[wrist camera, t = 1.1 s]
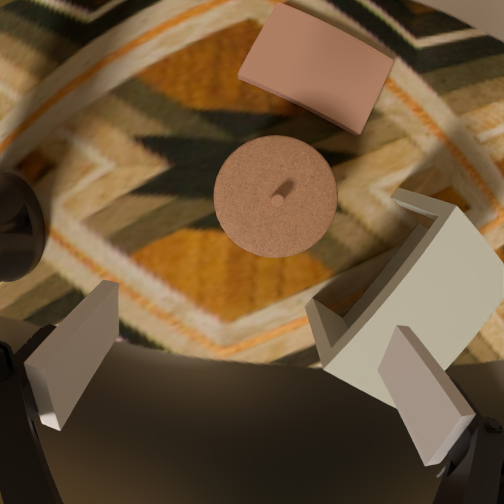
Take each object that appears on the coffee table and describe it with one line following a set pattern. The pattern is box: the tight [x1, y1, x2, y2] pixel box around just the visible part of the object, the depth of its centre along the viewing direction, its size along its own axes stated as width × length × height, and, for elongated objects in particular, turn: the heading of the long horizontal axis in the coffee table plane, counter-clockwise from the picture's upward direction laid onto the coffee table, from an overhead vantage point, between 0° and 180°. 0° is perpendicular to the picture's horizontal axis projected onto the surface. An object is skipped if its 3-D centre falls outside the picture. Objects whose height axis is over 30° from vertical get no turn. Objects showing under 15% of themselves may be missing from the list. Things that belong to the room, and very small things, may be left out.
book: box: [238, 2, 394, 135], centre depth 30 cm, size 14×10×2 cm
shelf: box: [305, 188, 504, 408], centre depth 32 cm, size 12×18×12 cm, turn 145°
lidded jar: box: [214, 135, 338, 258], centre depth 30 cm, size 11×11×9 cm
